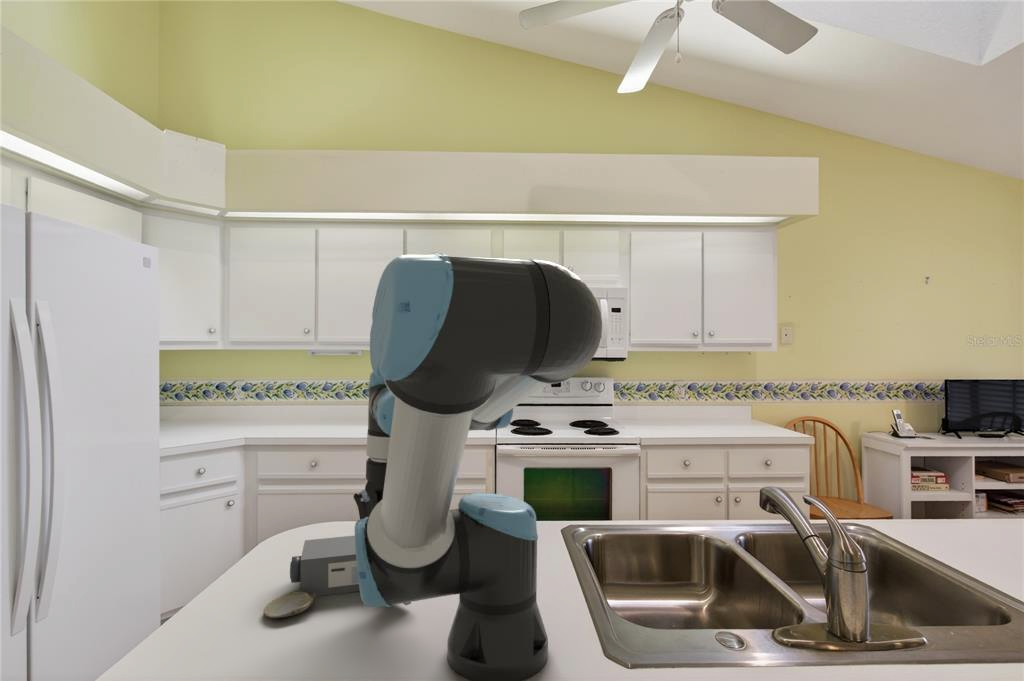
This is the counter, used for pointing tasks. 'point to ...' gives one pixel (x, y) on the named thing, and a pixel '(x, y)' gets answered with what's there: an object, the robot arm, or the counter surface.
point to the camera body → (326, 566)
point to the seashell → (289, 604)
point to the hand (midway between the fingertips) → (383, 589)
